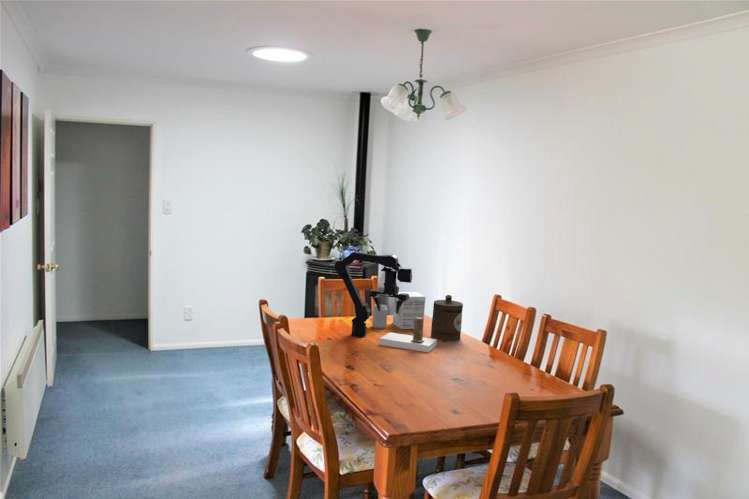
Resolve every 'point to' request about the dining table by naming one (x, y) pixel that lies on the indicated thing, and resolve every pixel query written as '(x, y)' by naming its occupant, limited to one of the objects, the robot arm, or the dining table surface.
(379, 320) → the can
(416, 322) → the walnut peg
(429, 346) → the grey board
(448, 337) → the wooden container
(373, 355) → the dining table surface
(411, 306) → the supplement box
